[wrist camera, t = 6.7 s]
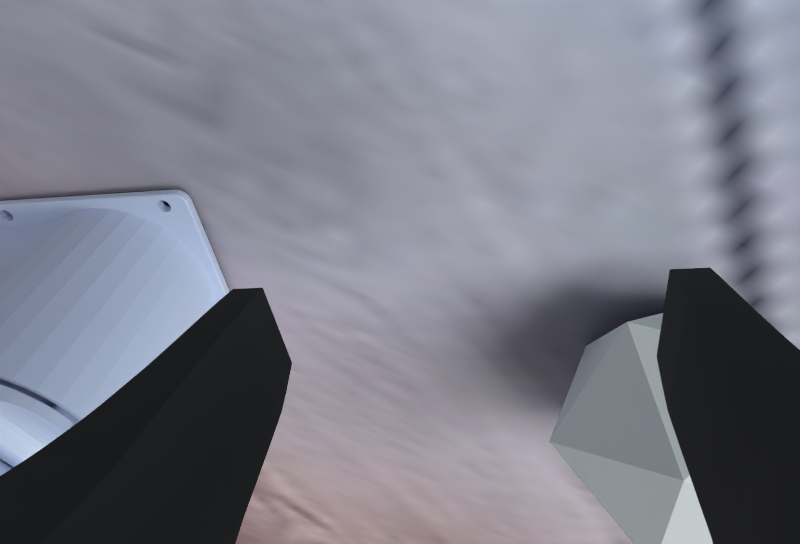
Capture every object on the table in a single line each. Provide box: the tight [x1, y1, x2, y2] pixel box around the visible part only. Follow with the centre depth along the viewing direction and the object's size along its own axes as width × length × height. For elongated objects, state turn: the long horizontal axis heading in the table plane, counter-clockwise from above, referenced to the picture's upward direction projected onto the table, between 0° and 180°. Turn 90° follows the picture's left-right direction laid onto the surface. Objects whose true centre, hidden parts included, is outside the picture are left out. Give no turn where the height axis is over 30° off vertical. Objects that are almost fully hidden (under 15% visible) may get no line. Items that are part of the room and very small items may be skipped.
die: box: [549, 313, 713, 544], centre depth 21 cm, size 8×9×10 cm
